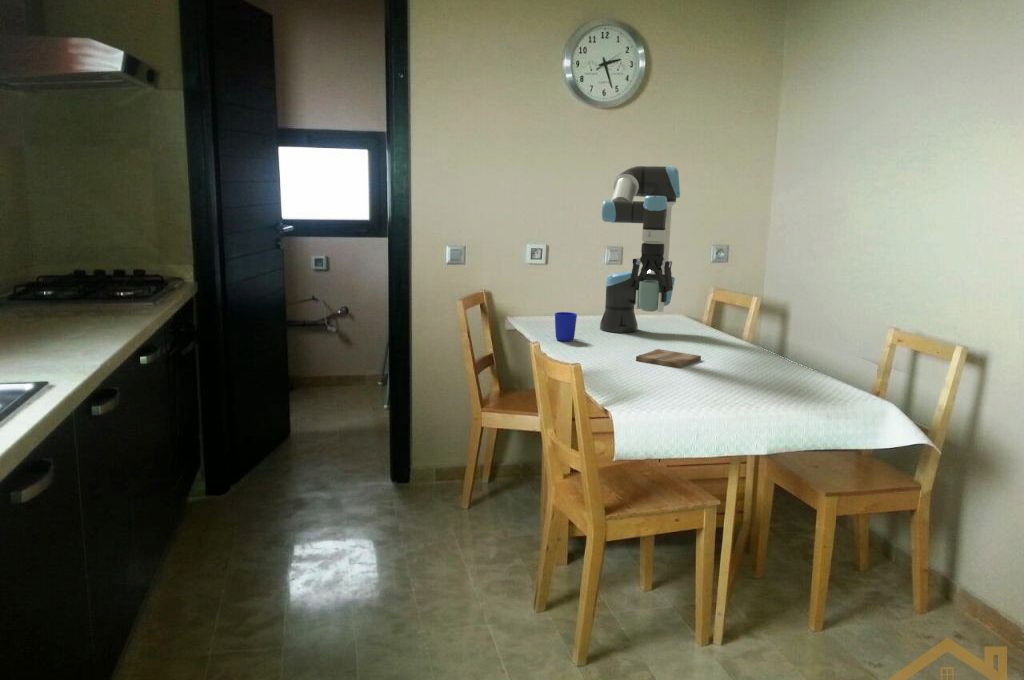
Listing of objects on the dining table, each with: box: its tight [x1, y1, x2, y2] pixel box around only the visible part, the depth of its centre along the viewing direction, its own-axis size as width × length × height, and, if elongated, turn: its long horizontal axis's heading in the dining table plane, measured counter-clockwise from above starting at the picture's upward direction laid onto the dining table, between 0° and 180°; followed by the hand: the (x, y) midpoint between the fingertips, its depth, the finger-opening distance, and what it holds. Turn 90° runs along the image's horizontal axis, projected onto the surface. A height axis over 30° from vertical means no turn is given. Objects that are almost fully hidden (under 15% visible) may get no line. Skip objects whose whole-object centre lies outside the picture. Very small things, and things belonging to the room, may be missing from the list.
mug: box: [554, 311, 578, 342], centre depth 300 cm, size 8×12×10 cm
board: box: [635, 348, 702, 369], centre depth 268 cm, size 16×16×2 cm
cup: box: [639, 280, 661, 313], centre depth 270 cm, size 8×8×10 cm
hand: (649, 310), depth 271 cm, fingers closed on cup, 8 cm apart
